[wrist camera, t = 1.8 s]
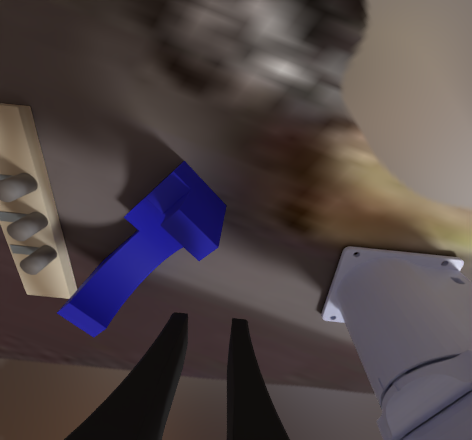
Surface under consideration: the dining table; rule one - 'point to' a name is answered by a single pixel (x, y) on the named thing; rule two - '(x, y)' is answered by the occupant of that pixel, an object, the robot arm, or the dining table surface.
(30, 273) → the coat hook rack
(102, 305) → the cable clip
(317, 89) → the dining table surface
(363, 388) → the dining table surface
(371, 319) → the robot arm
